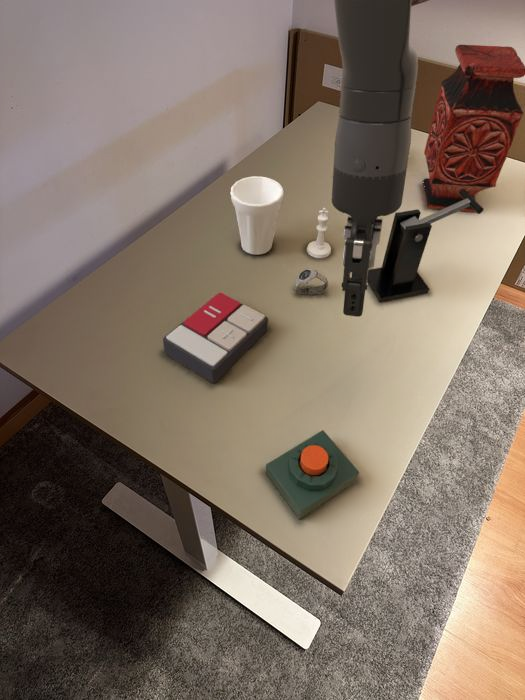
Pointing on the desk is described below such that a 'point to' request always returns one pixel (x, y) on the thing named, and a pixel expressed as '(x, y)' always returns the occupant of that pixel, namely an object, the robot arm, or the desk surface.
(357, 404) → the desk surface
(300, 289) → the wristwatch
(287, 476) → the control block
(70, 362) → the desk surface
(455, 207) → the lever
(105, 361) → the desk surface
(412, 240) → the bracket
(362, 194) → the robot arm
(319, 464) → the orange button
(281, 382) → the desk surface
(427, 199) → the vase
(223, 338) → the calculator
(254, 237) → the cup
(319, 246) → the chess piece
